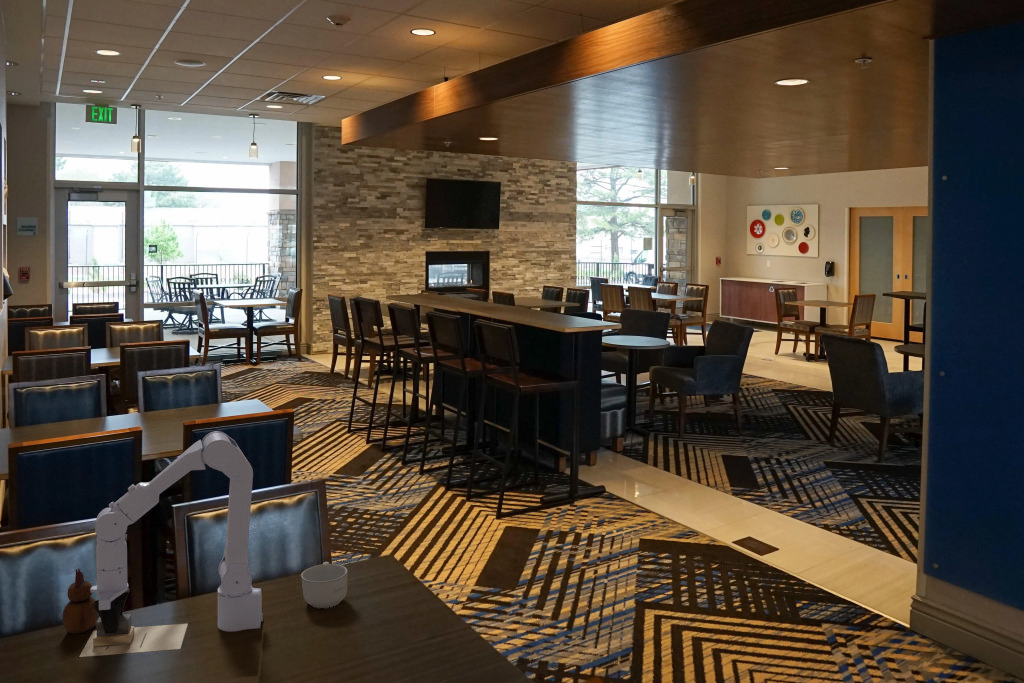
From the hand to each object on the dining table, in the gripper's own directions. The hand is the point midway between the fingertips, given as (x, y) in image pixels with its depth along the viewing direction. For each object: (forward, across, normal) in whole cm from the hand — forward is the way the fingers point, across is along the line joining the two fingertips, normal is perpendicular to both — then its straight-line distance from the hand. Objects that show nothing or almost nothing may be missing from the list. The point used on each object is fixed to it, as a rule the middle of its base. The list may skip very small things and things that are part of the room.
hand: (112, 628), depth 171 cm
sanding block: (+3, 0, 0) cm, 3 cm away
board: (+4, 0, +4) cm, 6 cm away
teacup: (+4, -16, +44) cm, 47 cm away
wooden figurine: (+4, -8, -8) cm, 12 cm away
